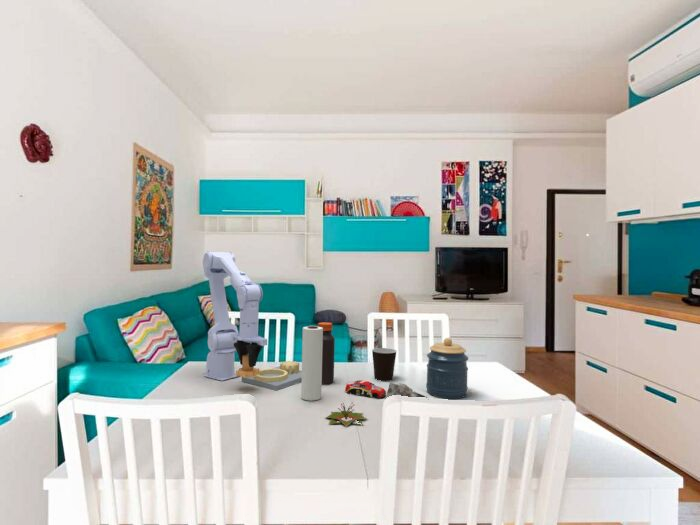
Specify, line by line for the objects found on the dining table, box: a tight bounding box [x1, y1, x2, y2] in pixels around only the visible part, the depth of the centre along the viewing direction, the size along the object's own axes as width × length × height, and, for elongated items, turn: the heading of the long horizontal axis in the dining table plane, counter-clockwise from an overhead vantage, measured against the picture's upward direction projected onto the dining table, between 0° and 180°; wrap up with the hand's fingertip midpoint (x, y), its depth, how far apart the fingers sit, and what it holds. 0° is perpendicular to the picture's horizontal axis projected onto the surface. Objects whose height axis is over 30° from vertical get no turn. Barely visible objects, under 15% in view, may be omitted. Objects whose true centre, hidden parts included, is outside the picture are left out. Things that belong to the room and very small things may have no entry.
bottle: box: [317, 321, 336, 386], centre depth 145 cm, size 7×7×20 cm
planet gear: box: [235, 355, 260, 378], centre depth 135 cm, size 7×7×6 cm
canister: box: [425, 337, 469, 400], centre depth 136 cm, size 13×13×18 cm
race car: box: [344, 379, 387, 399], centre depth 133 cm, size 13×5×4 cm, turn 63°
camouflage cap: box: [385, 381, 428, 399], centre depth 123 cm, size 7×11×10 cm
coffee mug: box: [371, 347, 397, 382], centre depth 152 cm, size 12×9×10 cm
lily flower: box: [324, 401, 367, 428], centre depth 112 cm, size 12×12×5 cm
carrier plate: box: [241, 360, 302, 391], centre depth 147 cm, size 16×19×4 cm
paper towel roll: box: [300, 324, 323, 402], centre depth 129 cm, size 7×6×21 cm
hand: (247, 365), depth 135 cm, fingers closed on planet gear, 3 cm apart
